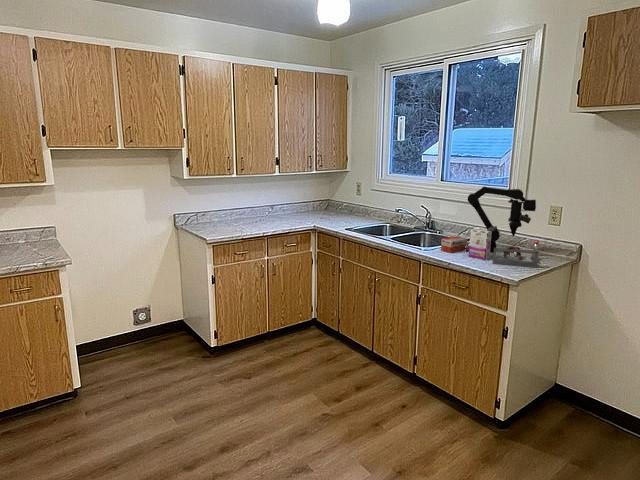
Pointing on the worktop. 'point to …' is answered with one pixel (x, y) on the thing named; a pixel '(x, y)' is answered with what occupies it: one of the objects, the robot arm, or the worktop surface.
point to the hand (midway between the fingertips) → (513, 235)
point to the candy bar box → (480, 244)
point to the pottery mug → (512, 252)
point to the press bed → (515, 262)
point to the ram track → (534, 259)
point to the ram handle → (535, 247)
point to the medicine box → (453, 244)
